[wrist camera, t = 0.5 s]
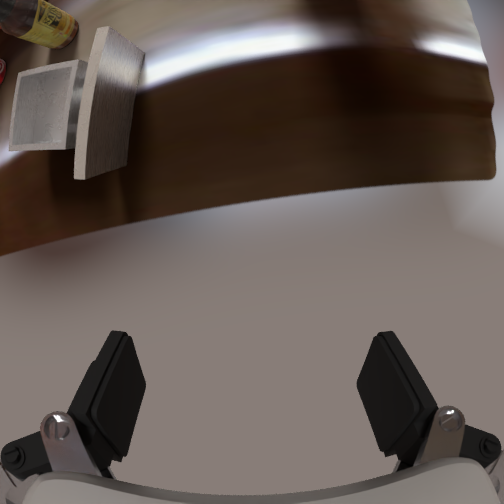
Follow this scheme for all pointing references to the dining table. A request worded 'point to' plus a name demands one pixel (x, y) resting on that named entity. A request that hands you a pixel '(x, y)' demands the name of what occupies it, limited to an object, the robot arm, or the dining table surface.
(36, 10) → the sauce bottle
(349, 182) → the dining table surface
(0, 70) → the soda can
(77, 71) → the open square box
